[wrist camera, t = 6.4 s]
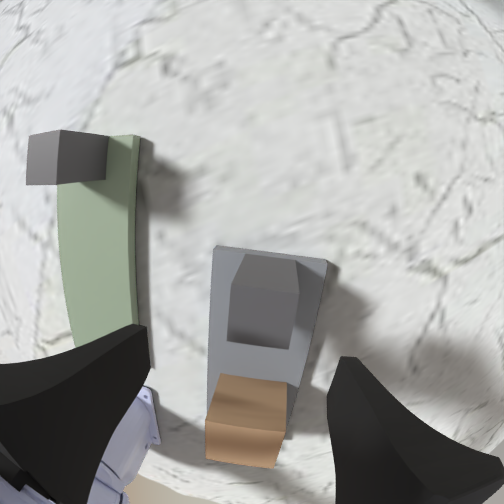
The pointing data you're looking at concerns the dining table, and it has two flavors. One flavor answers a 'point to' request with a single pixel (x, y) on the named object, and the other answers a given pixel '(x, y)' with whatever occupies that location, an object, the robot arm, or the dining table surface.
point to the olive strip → (92, 224)
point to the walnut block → (246, 421)
